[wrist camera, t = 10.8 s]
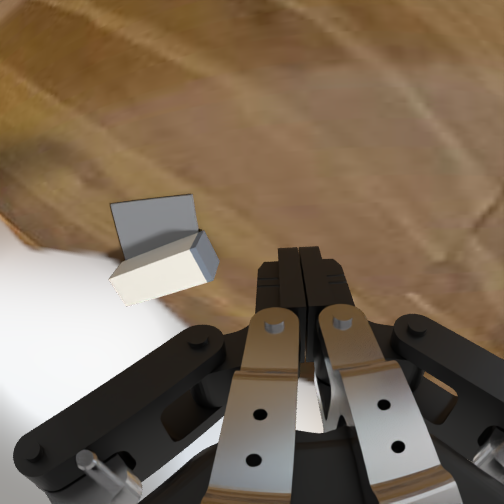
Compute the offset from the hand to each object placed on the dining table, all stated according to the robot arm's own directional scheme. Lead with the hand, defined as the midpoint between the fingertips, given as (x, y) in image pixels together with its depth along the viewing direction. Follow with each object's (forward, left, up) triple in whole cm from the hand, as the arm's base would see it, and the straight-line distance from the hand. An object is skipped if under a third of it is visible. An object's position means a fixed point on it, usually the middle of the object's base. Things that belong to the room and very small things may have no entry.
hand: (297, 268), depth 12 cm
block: (-9, -11, -23) cm, 27 cm away
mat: (-16, -10, -25) cm, 32 cm away
